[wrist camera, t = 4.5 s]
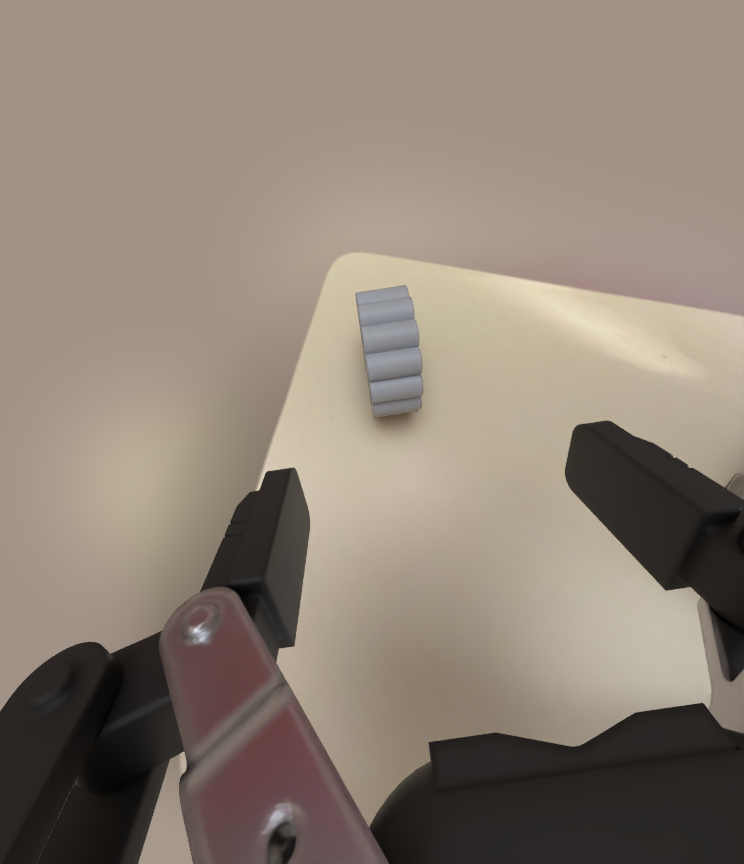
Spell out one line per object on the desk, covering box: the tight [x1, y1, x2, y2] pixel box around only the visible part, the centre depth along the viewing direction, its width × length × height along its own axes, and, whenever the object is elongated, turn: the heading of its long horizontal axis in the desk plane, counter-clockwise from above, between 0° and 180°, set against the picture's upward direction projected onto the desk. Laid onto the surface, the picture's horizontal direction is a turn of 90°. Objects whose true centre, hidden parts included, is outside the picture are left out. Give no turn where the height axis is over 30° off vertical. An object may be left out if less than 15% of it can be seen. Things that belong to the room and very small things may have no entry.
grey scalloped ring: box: [355, 285, 423, 418], centre depth 21 cm, size 3×8×8 cm, turn 8°
